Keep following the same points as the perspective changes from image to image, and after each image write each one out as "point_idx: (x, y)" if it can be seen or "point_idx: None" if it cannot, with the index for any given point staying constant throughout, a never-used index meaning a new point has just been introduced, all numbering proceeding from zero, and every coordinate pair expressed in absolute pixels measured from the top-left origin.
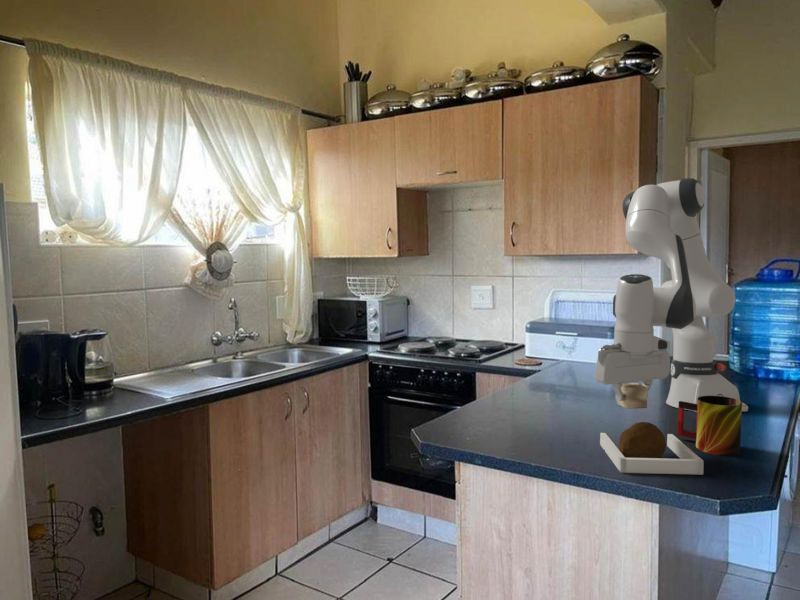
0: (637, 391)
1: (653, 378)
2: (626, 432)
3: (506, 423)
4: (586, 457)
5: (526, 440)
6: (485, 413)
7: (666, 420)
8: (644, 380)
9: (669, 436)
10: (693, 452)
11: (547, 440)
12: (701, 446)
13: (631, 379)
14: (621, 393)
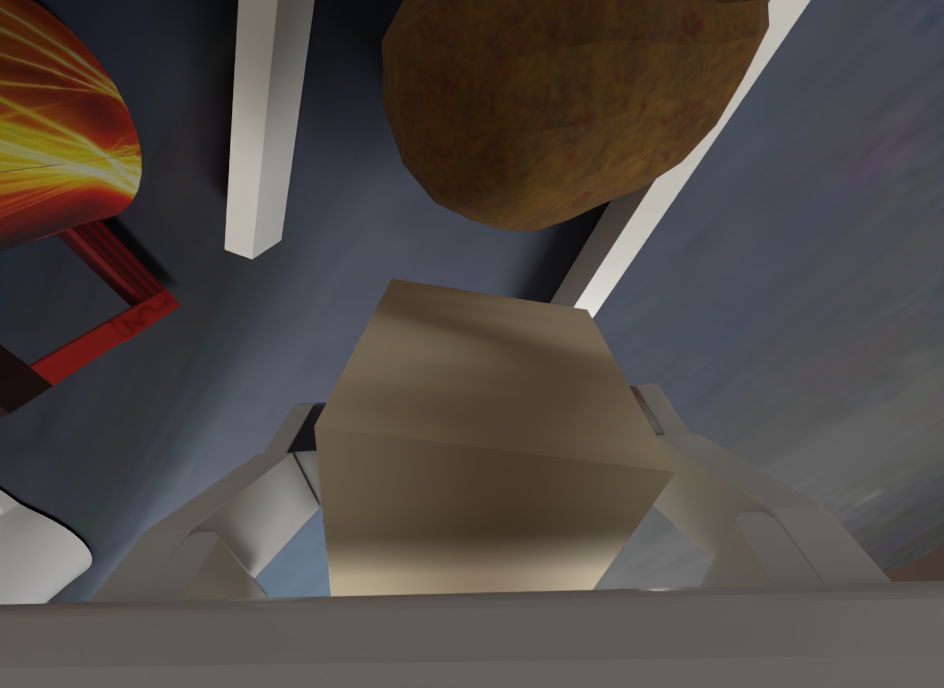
0: (502, 406)
1: (40, 623)
2: (725, 84)
3: (656, 550)
4: (729, 230)
5: (741, 442)
6: None
7: (150, 463)
8: (271, 598)
9: (256, 228)
10: None
11: None
12: (112, 119)
13: (653, 651)
14: (686, 441)
